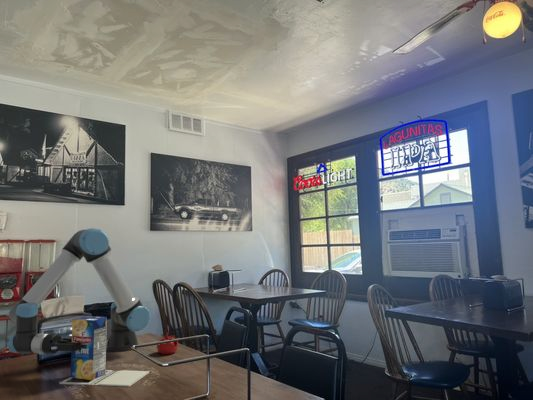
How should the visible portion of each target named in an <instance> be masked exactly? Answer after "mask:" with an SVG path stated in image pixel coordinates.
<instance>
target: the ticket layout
mask: <svg viewBox="0 0 533 400" xmlns="http://www.w3.org/2000/svg"><path fill="white" fill-rule="evenodd" d="M149 372H150V370H127V369H126V370H124V369H123V370H111V369H110V370H109V369H106V374H105V375H103V376H101V377H98V378H96V379H94V380H90V381H89V382H74V381H72V382H71V380H73V379H74V378H71V377H68V378H66V379H64V380H62V381H59V385H80V386H98V385H99V386H107V387H129V388H130V387H131V386H132V385H133V384H136V382H138V381H139V380H141V379H142V378H144V377H145V376H147V375H148V374H149Z"/></svg>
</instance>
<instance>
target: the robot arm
mask: <svg viewBox="0 0 533 400" xmlns="http://www.w3.org/2000/svg"><path fill="white" fill-rule="evenodd" d="M109 244H110V240H109V236H108V235H107V234H106V232H105V231H103V230H102V229H99V228H94V227H92V228H87V229H80V230H79V231H77V232H75V233H74V234H73V235H72V237H71V238H70V239H69V240H68V241H67V242H66V244H65V245H63V247H62V248H61V253H60V254H59V255H58V257H56V259H55V260H54V261H53V262H52V264H50V266H49V267H48V268H47V269H46V271H44V273H43V274H42V275H41V276H40V277H39V279H38V280H37V281H36V282H35V283H34V285H32V286H31V288H30V289H29V290H28V291H27V292H26V294H25V295H24V296H23V297H22V298H21V299H20V300H19V302H18V303H17V304H16V305H13V306H12V307H11V308H10V309H9V311H8V318H9V319H10V321H11V322H12V323H13V324H15V333H13V334H12V335H10V337H9V339H8V341H7V349H8V350H9V352H11V353H13V354H14V353H15V354H20V355H21V354H38V355H40V356H41V355H42V354H46V355H53V354H56V353H58V352H71V351H77V350H79V352H81V348H86V349H87V345H84V344H81V343H80V342H79V343H75V342H72V337H71V338H70V337H69V338H68V337H61V335H60V334H58V333H38V316H39V307H40V305H41V304H42V303H43V302H44V300H46V298H48V296H49V295H50V294H51V292H52V291H53V290H54V289H55V288H56V287H57V285H58V284H59V283H60V282H61V280H62V279H63V278H64V277H65V276H66V274H67V273H68V272H69V271H70V270H71V269H72V267H73V266H74V265H75V264H76V263H77V262H78V263H79V262H80V261H81V260H82V259H83V258H84V260H85V262H87V264H92V266H93V268H94V270H95V271H96V273H97V275H98V276H99V278H100V280H101V282H102V283H103V285H104V286H105V289H106V290H107V292H108V293H109V295H110V297H111V299H112V300H113V302H112V304H111V306H110V333H109V336H108V339H107V341H106V351H108V352H125V351H131V350H130V349H131V347H132V346H133V345H138V346H139V340H138V336H137V334H136V333H137V332H140V331H143V330H144V329H145V328H147V327H148V325H149V324H150V321H151V316H152V314H151V312H150V309H149V308H148V307H146V306H144V305H143V303H142V302H141V299H140V297H137V296H134V294H133V292H132V290H131V289H130V286H129V285H128V283H127V282H126V280H125V278H124V277H123V275H122V273H121V271H120V270H119V268H118V266H117V263H116V262H115V261H114V259H113V257H112V255H111V253H112V248H111V247H110V245H109ZM98 349H99V342H97V350H98Z"/></svg>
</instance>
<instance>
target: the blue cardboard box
mask: <svg viewBox="0 0 533 400" xmlns="http://www.w3.org/2000/svg"><path fill="white" fill-rule="evenodd" d="M71 322H72V323H71V338H72V342H75V343H79V342H80V343H81V344H84V345H87V349H86V348H81V352H79V350H77V351H70V353H71V354H70V355H71V356H70V377H71V378H73V379H80V380H88V381H92V380H94V379H96V378H98V377H101V376H103V375H105V374H106V370H107V367H106V366H107V364H106V363H107V362H106V361H107V350H106V345H107V334H108V333H107V331H108V330H107V329H108V327H107V325H108V324H107V323H108V317H107V316H91V315H90V316H89V315H87V316H86V315H85V316H81V317H76V318H72V321H71ZM97 342H99V349H98V350H97ZM105 376H106V375H105ZM70 377H69V378H70Z"/></svg>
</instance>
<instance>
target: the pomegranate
mask: <svg viewBox="0 0 533 400" xmlns="http://www.w3.org/2000/svg"><path fill="white" fill-rule="evenodd" d="M165 334H166V335H165V336H162V337H161V336H160V337H159V336H158V338H159V340H158V342H159V341H164V340H168V339H176V337H174V335H169V332H166V333H165ZM158 342H157V343H158ZM178 347H179V342H178V341H177V342H171V343H166V344H160V345H156V349H157V352H158V353H159V354H161V355H172V354H175V353H176V352H177V350H178V349H179V348H178Z"/></svg>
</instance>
